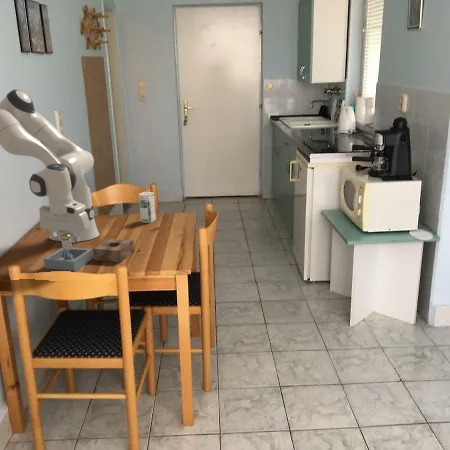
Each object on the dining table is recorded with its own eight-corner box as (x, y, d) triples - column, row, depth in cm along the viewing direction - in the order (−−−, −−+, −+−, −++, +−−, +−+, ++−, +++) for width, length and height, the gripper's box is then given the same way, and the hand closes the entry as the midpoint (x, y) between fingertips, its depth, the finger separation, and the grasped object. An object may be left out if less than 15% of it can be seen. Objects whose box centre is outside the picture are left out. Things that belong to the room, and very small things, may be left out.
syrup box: (140, 222, 246) (138, 194, 241) (146, 219, 251) (144, 191, 247) (150, 223, 244) (148, 194, 239) (156, 219, 249) (154, 192, 245)
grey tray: (45, 268, 191) (43, 258, 190) (64, 256, 203) (63, 247, 202) (75, 271, 188) (73, 261, 186) (93, 258, 200) (92, 249, 199)
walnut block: (94, 260, 198) (92, 248, 196) (109, 250, 209) (107, 238, 207) (121, 262, 195) (119, 250, 193) (134, 251, 205) (133, 240, 204)
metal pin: (63, 262, 194) (58, 236, 191) (68, 259, 197) (63, 233, 194) (70, 262, 193) (66, 236, 190) (75, 259, 196) (71, 233, 193)
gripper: (33, 207, 188) (39, 241, 193) (80, 210, 183) (84, 245, 187) (43, 203, 194) (48, 236, 198) (89, 205, 189) (93, 239, 193)
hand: (66, 240), depth 193 cm, fingers open, 8 cm apart
